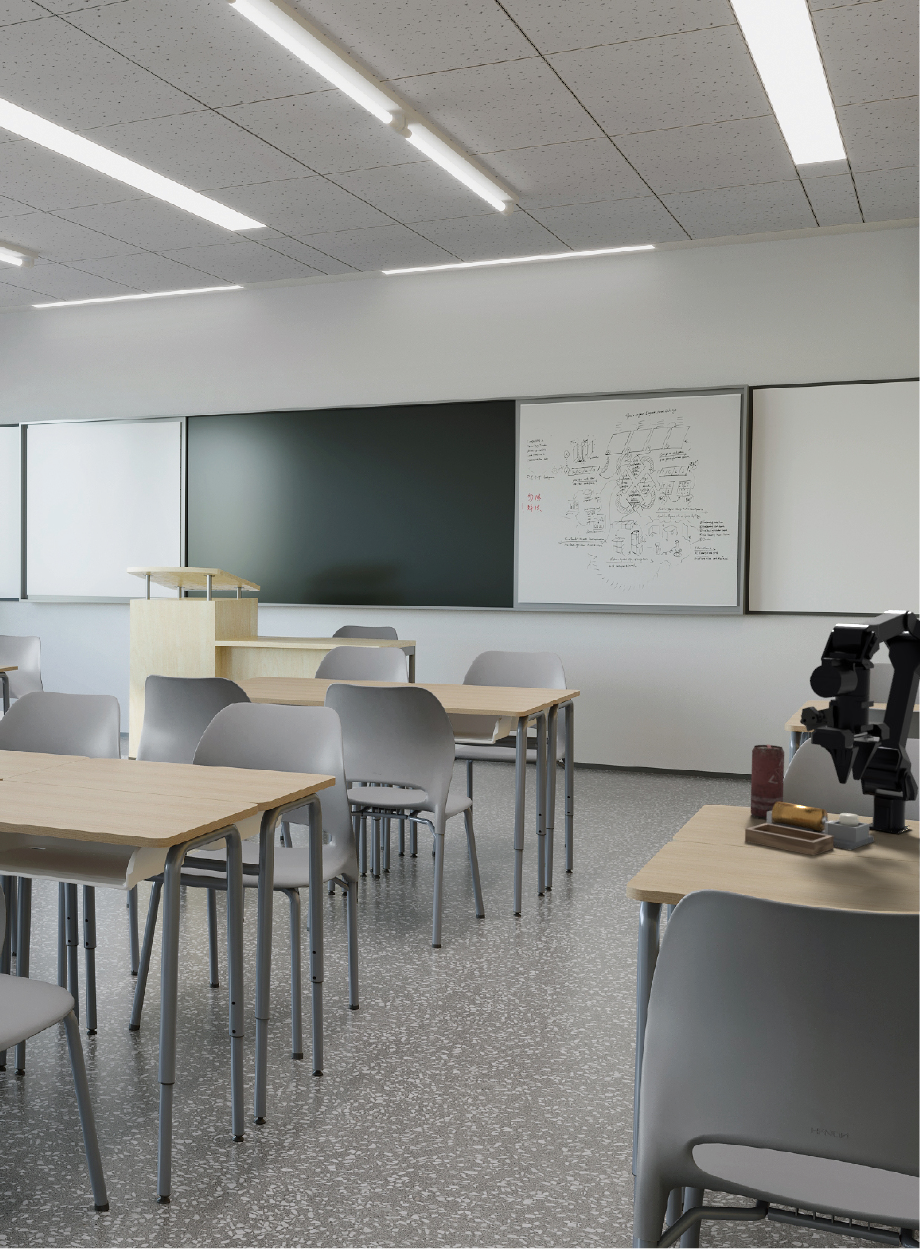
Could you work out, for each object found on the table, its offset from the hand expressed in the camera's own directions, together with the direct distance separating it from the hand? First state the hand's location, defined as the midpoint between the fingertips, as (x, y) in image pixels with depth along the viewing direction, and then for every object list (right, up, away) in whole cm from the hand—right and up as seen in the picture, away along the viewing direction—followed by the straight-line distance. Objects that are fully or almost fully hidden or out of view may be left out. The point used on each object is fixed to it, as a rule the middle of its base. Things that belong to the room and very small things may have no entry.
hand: (849, 781), depth 184 cm
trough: (-11, -11, -2) cm, 16 cm away
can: (-9, -10, +21) cm, 25 cm away
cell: (-7, -7, +7) cm, 12 cm away
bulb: (0, -8, 0) cm, 8 cm away
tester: (-5, -11, +5) cm, 13 cm away
